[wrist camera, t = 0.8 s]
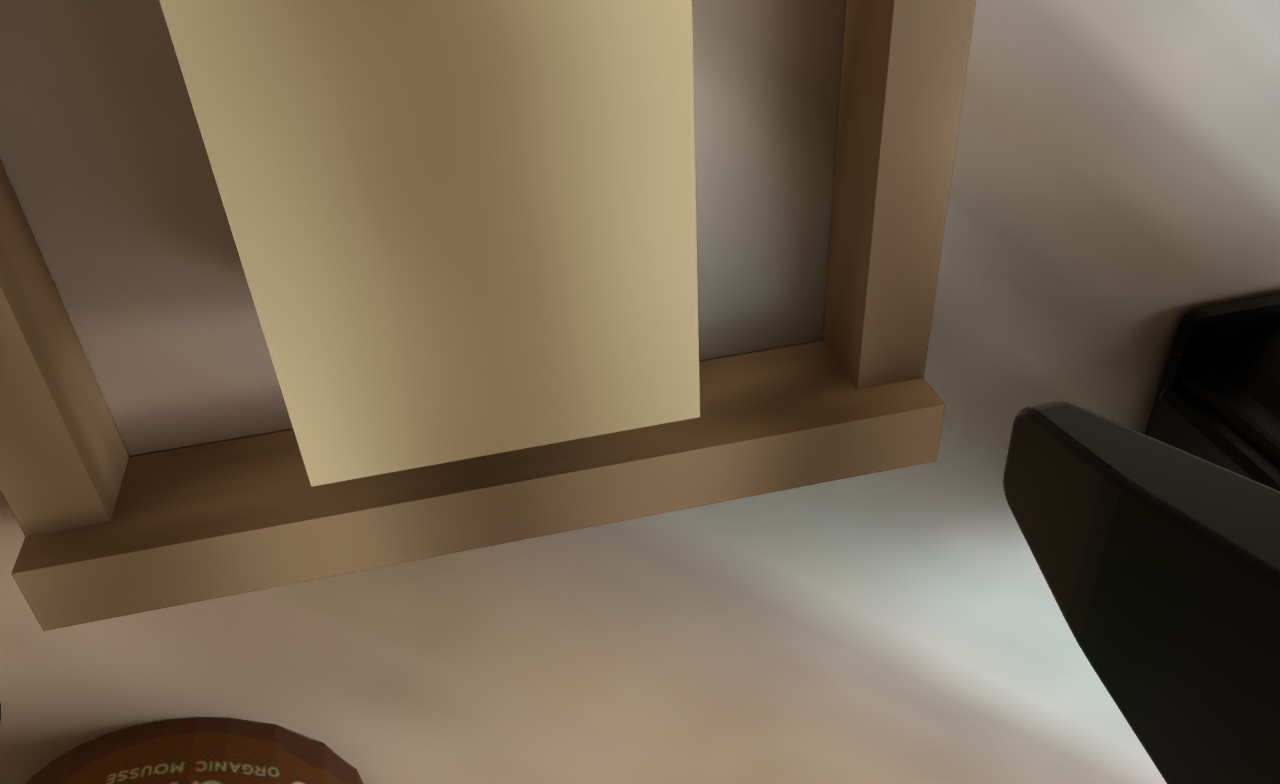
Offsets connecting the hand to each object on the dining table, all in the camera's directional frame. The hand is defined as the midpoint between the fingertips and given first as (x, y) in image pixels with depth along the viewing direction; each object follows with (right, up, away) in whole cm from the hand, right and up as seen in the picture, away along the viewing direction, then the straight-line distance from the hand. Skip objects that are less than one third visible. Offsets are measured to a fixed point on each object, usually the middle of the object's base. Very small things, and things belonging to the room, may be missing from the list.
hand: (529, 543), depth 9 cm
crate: (-3, +7, +9) cm, 12 cm away
